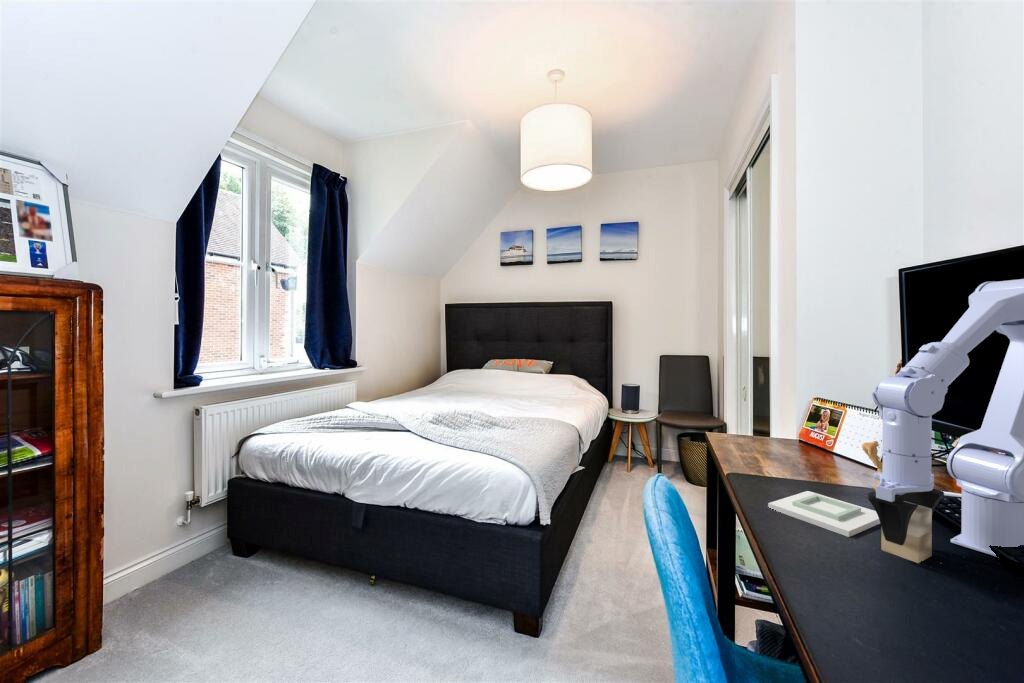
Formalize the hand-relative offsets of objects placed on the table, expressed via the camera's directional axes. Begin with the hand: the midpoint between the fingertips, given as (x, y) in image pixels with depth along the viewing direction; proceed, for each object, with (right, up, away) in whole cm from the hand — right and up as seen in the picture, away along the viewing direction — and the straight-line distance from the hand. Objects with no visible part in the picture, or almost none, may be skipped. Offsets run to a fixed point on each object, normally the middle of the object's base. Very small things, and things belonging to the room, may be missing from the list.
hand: (905, 536), depth 68 cm
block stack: (0, -3, 0) cm, 3 cm away
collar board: (-2, -2, +15) cm, 15 cm away
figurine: (+15, -2, +23) cm, 28 cm away
